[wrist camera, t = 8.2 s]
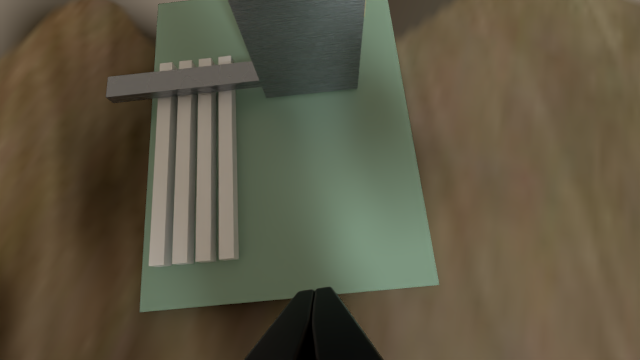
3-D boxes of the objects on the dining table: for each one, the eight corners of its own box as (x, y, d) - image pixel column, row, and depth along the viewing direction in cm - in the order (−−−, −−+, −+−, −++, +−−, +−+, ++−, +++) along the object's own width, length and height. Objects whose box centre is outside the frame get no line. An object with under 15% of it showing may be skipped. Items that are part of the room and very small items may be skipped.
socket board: (434, 284, 17) (464, 284, 13) (148, 310, 17) (89, 318, 13) (381, -12, 22) (391, -78, 18) (164, 13, 22) (125, -46, 18)
